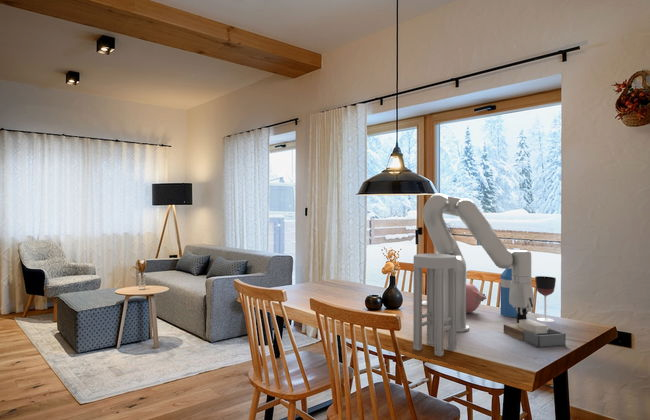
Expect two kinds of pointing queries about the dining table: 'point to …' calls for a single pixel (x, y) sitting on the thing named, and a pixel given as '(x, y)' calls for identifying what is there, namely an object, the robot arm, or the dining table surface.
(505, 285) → the water bottle
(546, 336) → the tray
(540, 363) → the dining table surface
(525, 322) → the tile rear
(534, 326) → the tile front
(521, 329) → the board
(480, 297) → the pomegranate
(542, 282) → the wineglass
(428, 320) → the stool
